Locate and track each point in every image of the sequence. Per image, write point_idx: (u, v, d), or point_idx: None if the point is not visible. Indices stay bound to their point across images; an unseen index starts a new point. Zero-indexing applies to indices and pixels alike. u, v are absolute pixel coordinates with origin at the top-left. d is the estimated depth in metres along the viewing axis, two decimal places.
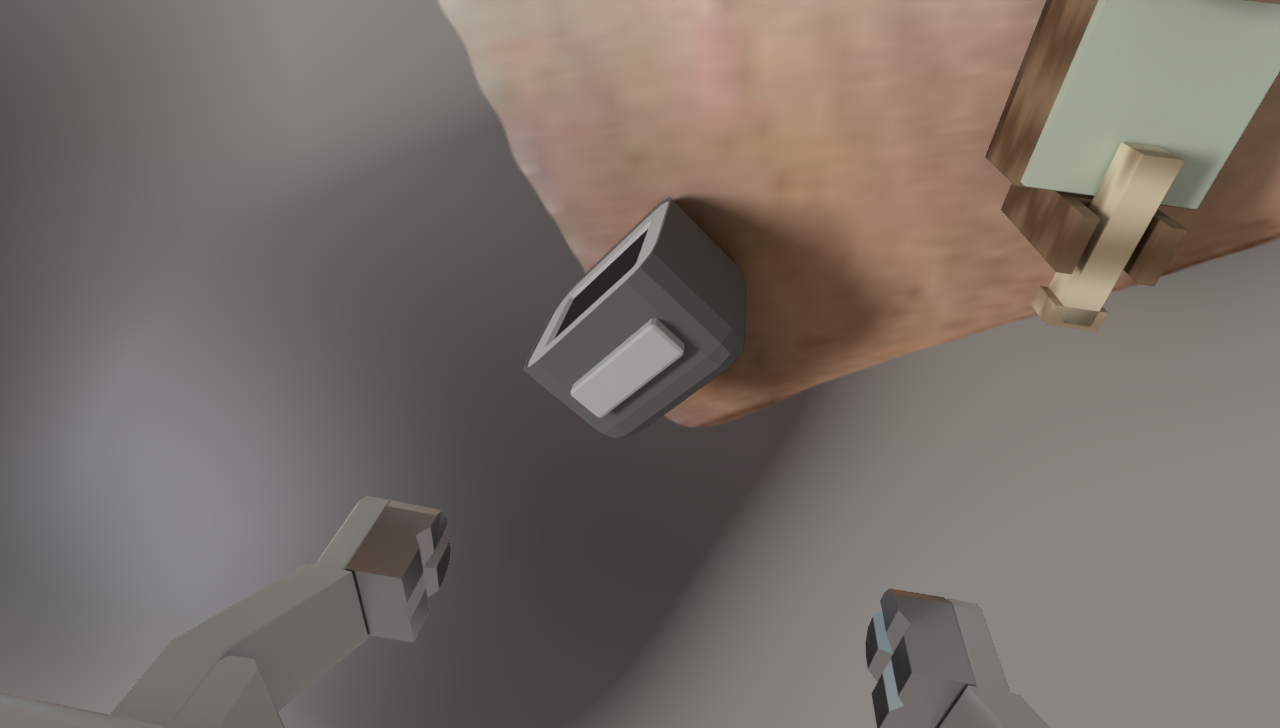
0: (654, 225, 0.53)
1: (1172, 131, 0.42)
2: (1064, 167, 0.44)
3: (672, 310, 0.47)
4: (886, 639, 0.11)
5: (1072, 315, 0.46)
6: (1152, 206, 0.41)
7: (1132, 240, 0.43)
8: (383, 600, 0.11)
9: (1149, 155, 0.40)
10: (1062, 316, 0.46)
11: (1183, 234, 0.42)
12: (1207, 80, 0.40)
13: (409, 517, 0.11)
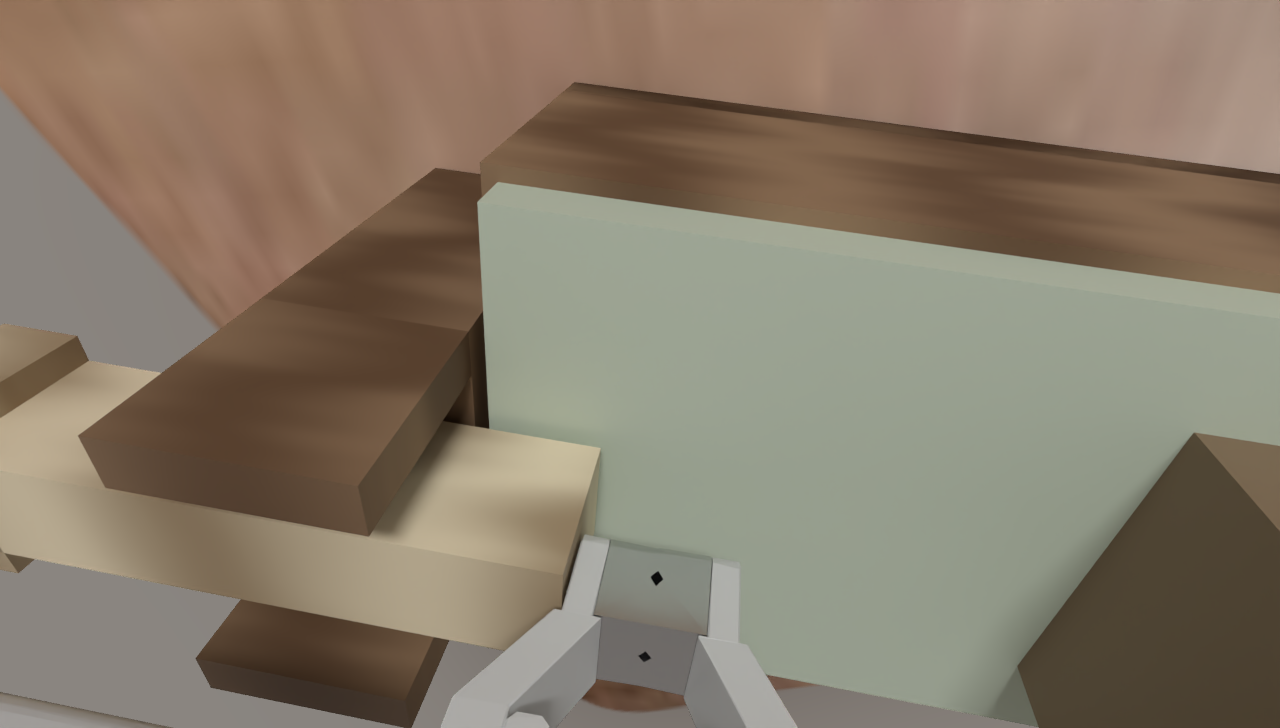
0: None
1: (700, 553, 0.14)
2: (570, 320, 0.11)
3: None
4: None
5: None
6: (393, 618, 0.11)
7: (266, 591, 0.12)
8: (624, 646, 0.10)
9: (563, 582, 0.10)
10: None
11: (395, 722, 0.12)
12: (839, 591, 0.14)
13: (637, 558, 0.11)
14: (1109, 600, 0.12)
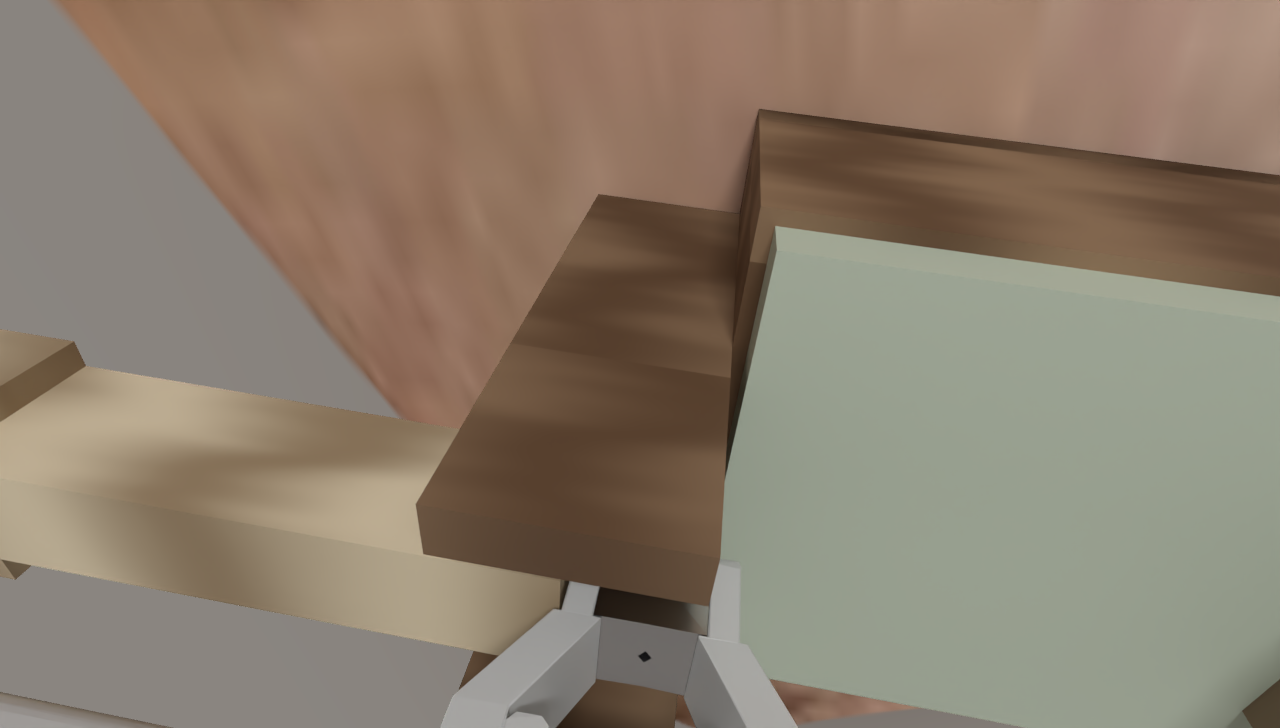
0: None
1: (924, 597, 0.14)
2: (846, 368, 0.11)
3: None
4: None
5: None
6: (391, 623, 0.11)
7: (264, 597, 0.12)
8: (624, 645, 0.10)
9: (561, 588, 0.10)
10: None
11: None
12: (1066, 636, 0.14)
13: None
14: None
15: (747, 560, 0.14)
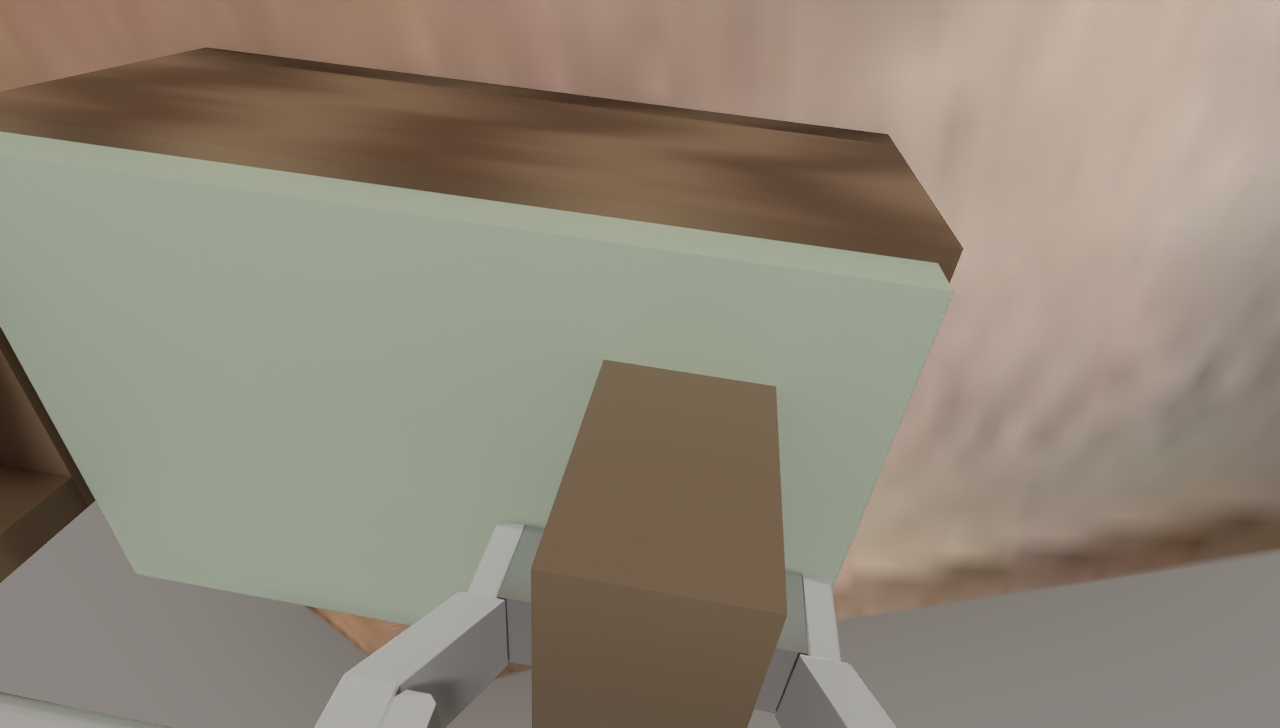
0: None
1: (264, 495, 0.15)
2: (35, 258, 0.12)
3: None
4: None
5: None
6: None
7: None
8: None
9: None
10: None
11: None
12: (400, 531, 0.15)
13: None
14: None
15: (104, 462, 0.15)
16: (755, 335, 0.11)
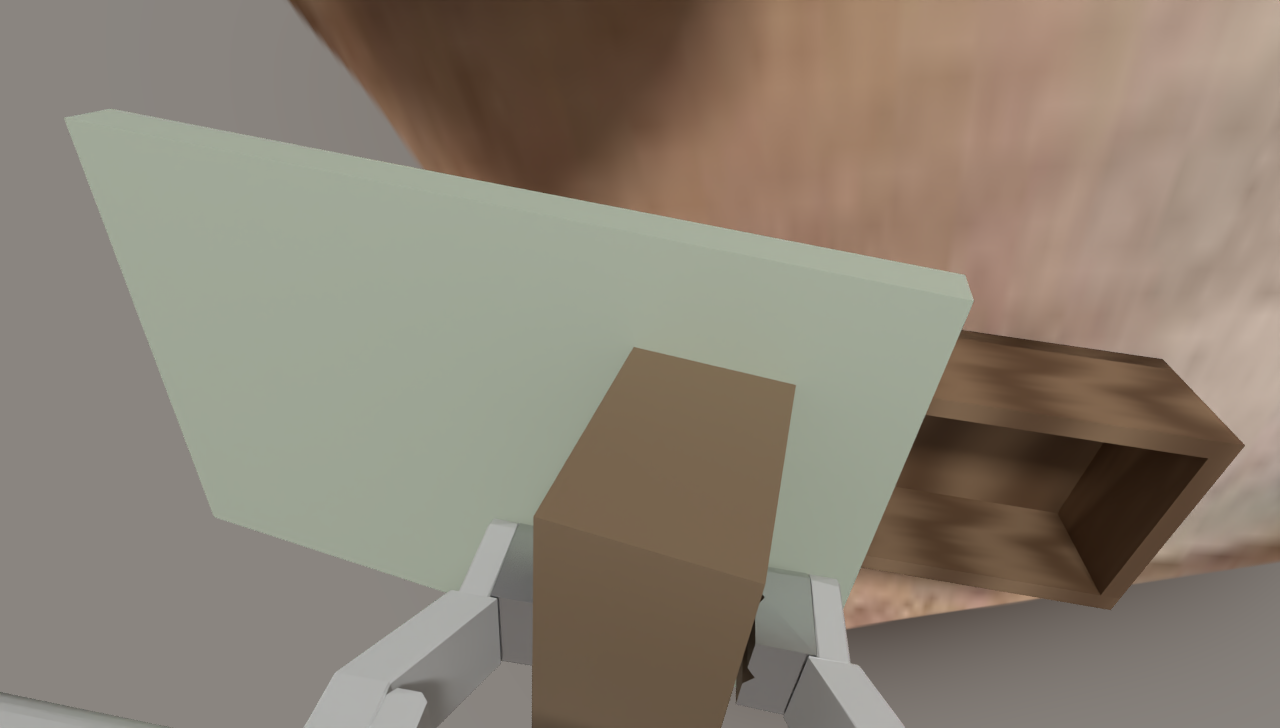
0: None
1: (327, 453, 0.16)
2: (158, 224, 0.14)
3: None
4: None
5: None
6: None
7: None
8: (524, 627, 0.11)
9: None
10: None
11: None
12: (441, 499, 0.16)
13: None
14: None
15: (197, 410, 0.17)
16: (777, 332, 0.11)
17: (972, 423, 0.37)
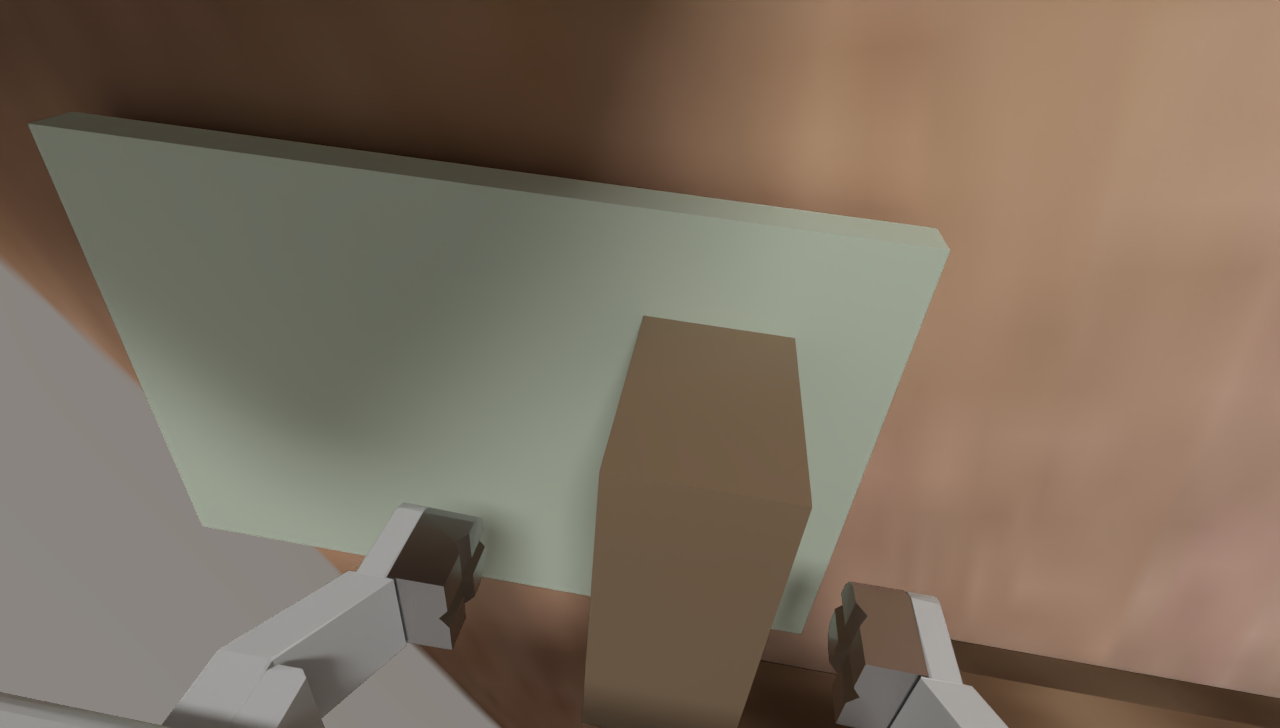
0: None
1: (329, 447, 0.16)
2: (139, 229, 0.13)
3: None
4: (846, 632, 0.11)
5: None
6: None
7: None
8: (423, 608, 0.11)
9: None
10: None
11: None
12: (451, 480, 0.16)
13: (447, 524, 0.11)
14: None
15: (183, 418, 0.16)
16: (777, 291, 0.12)
17: None
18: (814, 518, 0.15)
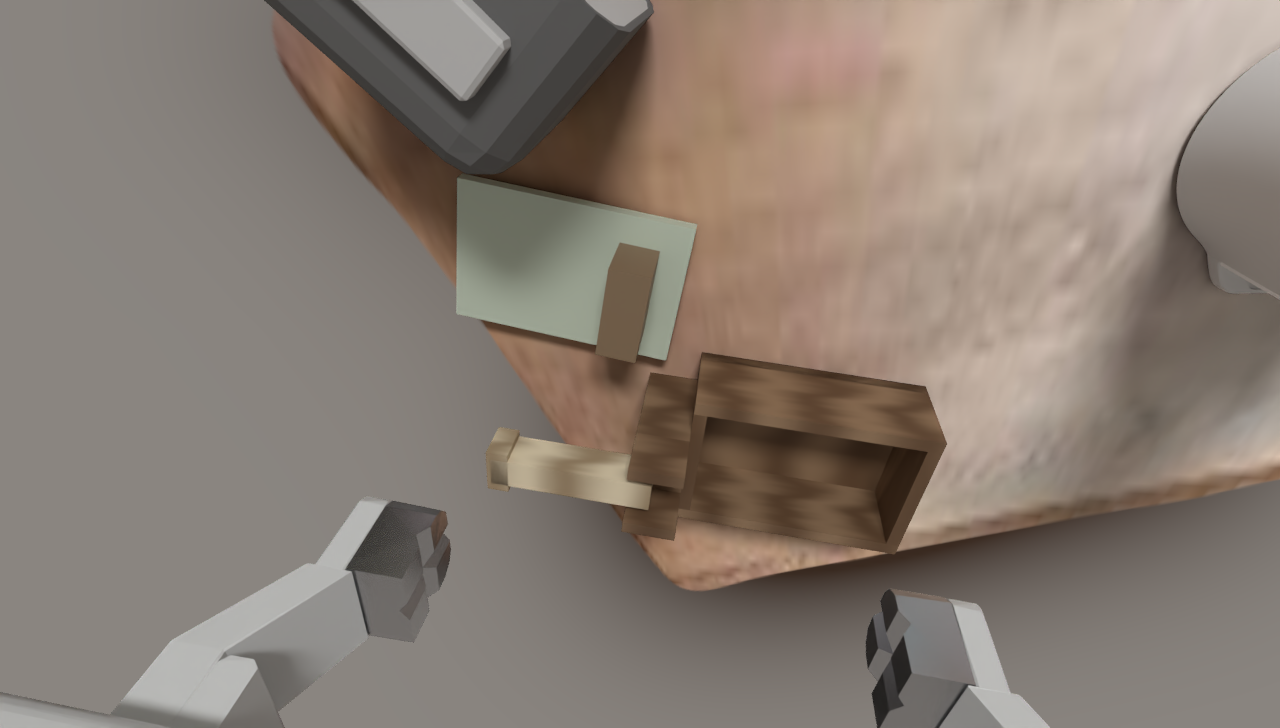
0: None
1: (515, 282, 0.50)
2: (478, 208, 0.47)
3: (528, 73, 0.29)
4: (886, 639, 0.11)
5: (499, 469, 0.48)
6: (608, 500, 0.48)
7: (577, 494, 0.48)
8: (383, 600, 0.11)
9: (651, 489, 0.47)
10: (496, 463, 0.48)
11: (670, 538, 0.48)
12: (553, 295, 0.50)
13: (409, 517, 0.11)
14: None
15: (467, 269, 0.50)
16: (655, 237, 0.47)
17: None
18: (668, 311, 0.50)
